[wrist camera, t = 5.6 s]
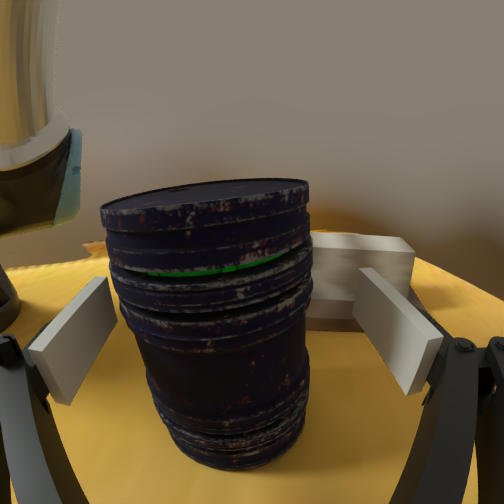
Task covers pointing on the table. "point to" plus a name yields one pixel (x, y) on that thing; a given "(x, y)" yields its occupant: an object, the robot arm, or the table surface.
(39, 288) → the table surface
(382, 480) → the table surface
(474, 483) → the table surface
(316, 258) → the ridge stand
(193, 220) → the storage jar
